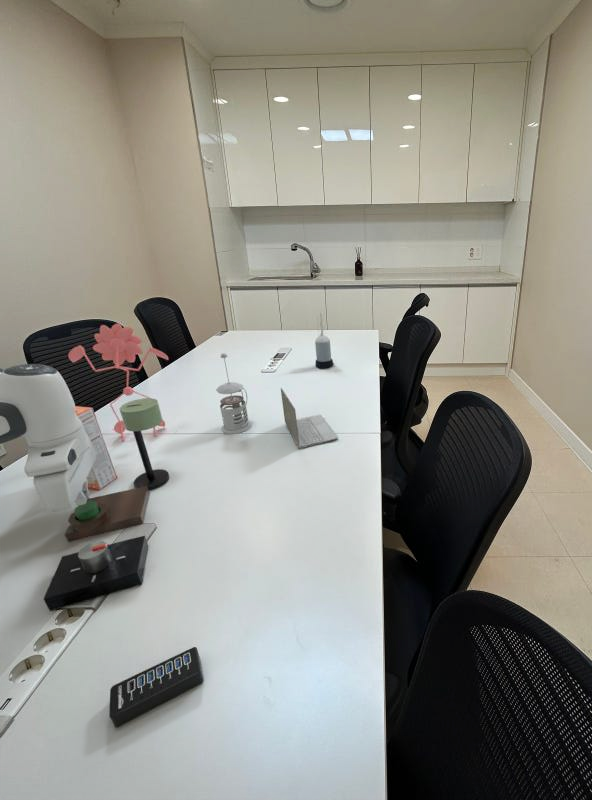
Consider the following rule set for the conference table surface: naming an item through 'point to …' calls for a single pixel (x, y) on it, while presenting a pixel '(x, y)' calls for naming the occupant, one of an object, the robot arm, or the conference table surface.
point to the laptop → (306, 426)
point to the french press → (233, 422)
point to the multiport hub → (155, 686)
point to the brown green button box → (111, 514)
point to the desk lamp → (138, 419)
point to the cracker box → (103, 465)
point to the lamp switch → (86, 510)
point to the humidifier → (323, 350)
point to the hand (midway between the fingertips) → (83, 500)
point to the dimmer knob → (95, 557)
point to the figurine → (117, 357)
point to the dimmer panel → (97, 575)
